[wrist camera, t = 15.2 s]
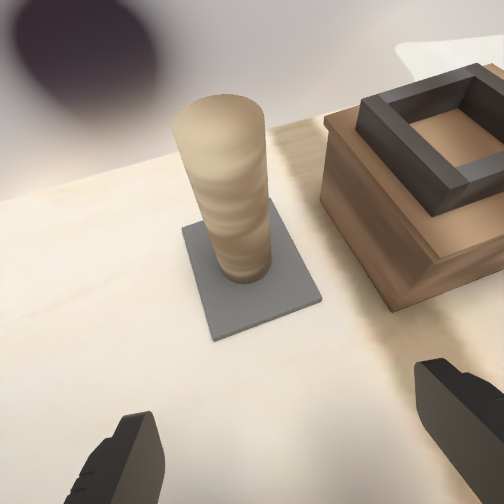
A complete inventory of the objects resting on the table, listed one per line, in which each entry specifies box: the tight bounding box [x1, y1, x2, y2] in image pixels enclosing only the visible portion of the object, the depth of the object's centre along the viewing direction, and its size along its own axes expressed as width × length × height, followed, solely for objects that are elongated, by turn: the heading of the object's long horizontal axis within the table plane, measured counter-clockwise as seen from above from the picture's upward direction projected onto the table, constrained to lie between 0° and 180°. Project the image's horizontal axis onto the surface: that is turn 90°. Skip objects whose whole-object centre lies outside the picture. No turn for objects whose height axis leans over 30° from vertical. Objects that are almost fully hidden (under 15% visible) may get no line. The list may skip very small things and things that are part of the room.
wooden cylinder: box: [172, 94, 272, 284], centre depth 18 cm, size 4×4×12 cm
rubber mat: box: [182, 198, 322, 341], centre depth 24 cm, size 8×10×1 cm
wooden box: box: [320, 63, 504, 313], centre depth 20 cm, size 13×12×10 cm
